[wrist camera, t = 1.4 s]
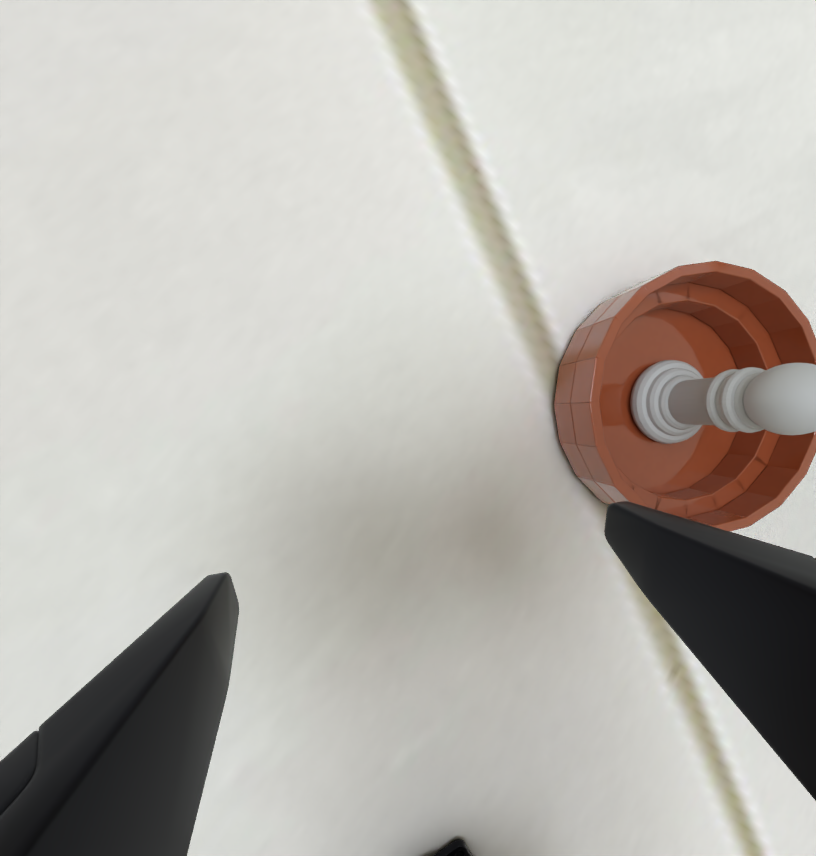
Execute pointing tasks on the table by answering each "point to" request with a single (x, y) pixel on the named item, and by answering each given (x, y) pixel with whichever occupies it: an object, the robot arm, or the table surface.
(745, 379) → the chess piece
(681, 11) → the table surface
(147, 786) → the robot arm
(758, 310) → the bowl
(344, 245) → the table surface
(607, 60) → the table surface
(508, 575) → the table surface
